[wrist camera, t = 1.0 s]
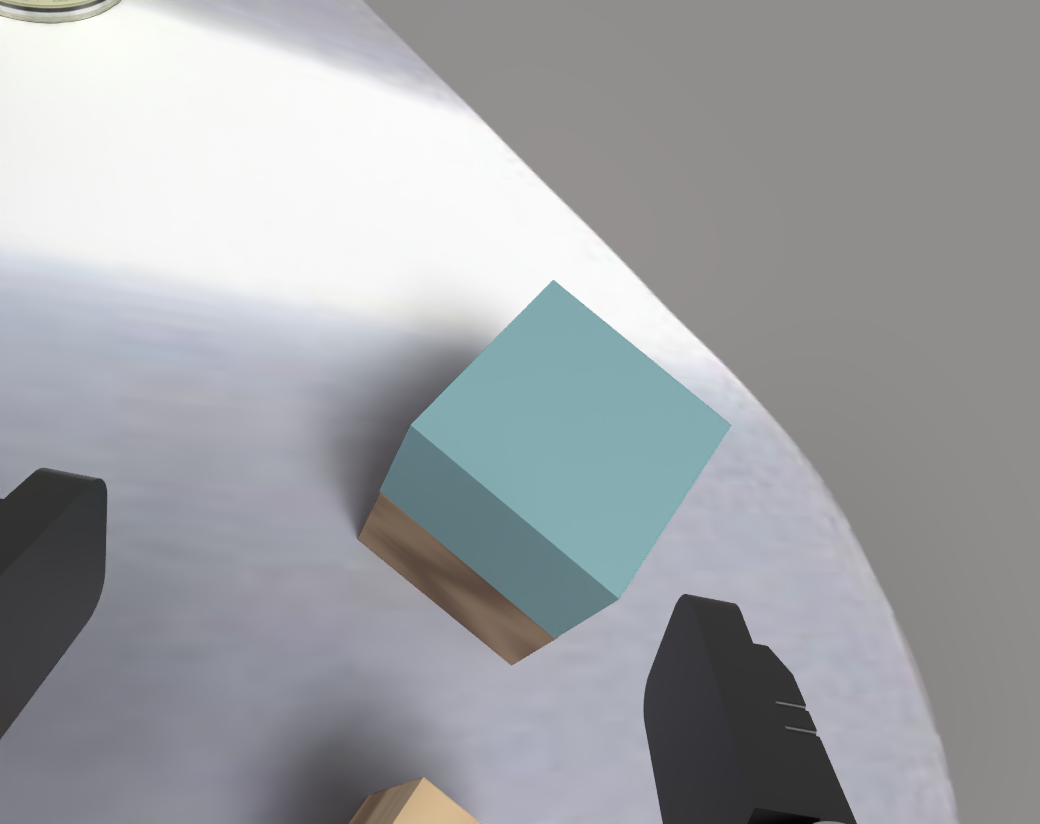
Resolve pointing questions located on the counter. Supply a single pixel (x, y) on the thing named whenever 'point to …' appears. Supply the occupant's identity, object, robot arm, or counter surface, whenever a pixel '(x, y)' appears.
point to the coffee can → (53, 9)
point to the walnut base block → (450, 582)
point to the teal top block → (555, 461)
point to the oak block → (411, 806)
